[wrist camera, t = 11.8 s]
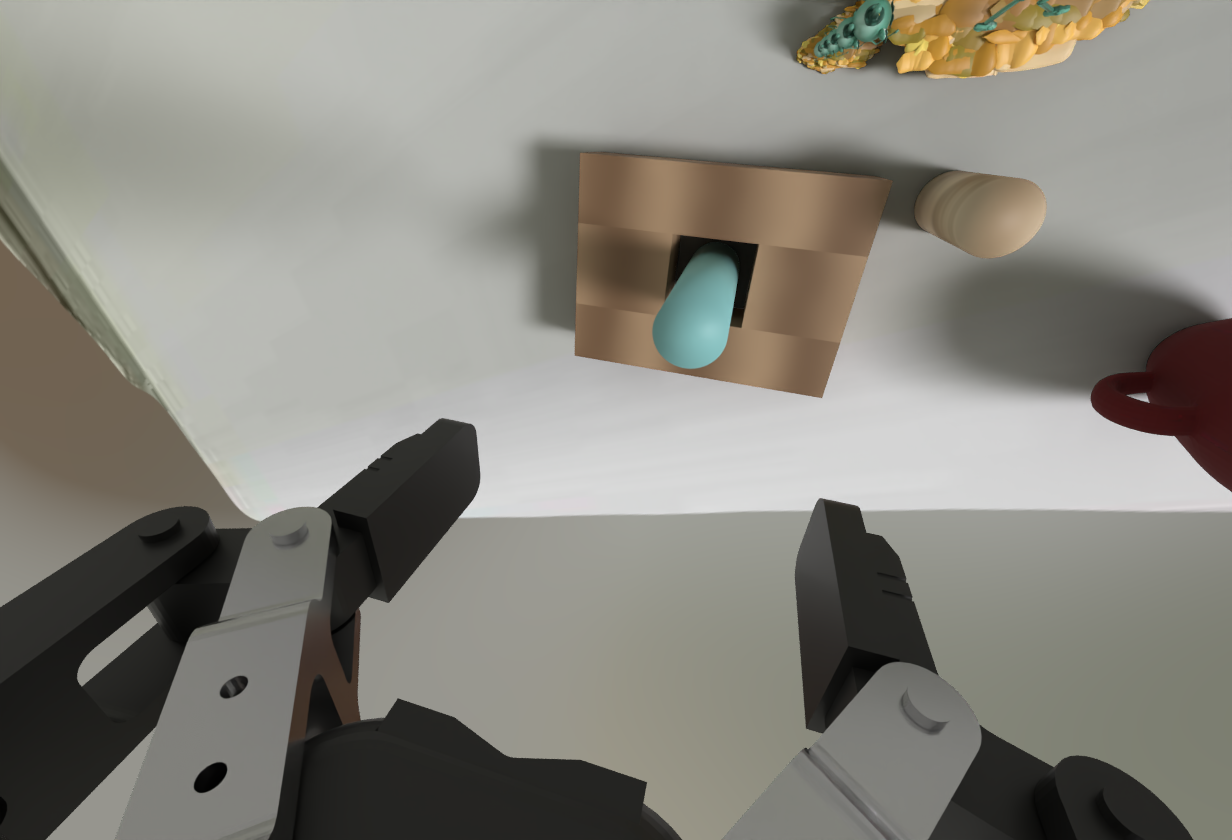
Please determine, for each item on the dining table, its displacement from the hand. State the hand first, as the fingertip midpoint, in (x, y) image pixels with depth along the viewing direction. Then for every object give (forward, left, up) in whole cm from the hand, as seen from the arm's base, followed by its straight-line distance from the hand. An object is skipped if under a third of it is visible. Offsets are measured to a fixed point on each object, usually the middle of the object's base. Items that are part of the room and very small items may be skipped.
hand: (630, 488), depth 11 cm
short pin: (-12, -5, -24) cm, 27 cm away
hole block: (0, 0, -24) cm, 24 cm away
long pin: (0, 0, -24) cm, 24 cm away
